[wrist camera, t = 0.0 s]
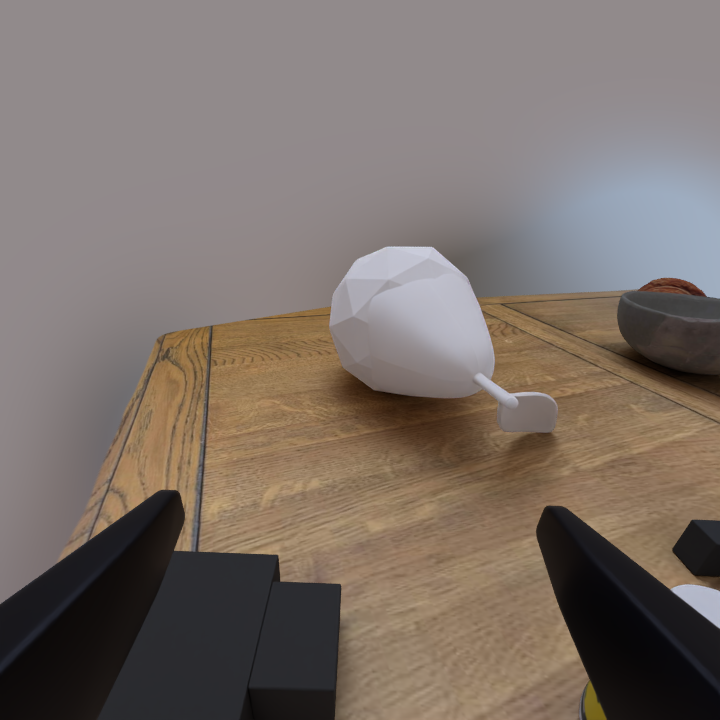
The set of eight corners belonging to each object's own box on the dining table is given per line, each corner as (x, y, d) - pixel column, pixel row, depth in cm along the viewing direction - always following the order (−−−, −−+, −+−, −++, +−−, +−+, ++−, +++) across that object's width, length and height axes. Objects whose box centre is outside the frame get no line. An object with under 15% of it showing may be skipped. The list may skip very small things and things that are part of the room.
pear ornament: (363, 205, 40) (559, 229, 17) (469, 305, 52) (672, 401, 29) (286, 316, 43) (363, 471, 20) (404, 387, 55) (540, 538, 31)
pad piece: (331, 773, 14) (332, 742, 12) (89, 767, 13) (64, 734, 12) (341, 590, 20) (342, 556, 19) (177, 584, 20) (167, 550, 18)
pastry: (615, 299, 90) (626, 268, 86) (685, 308, 85) (700, 276, 82) (638, 317, 75) (653, 281, 72) (724, 329, 71) (745, 291, 67)
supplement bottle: (602, 657, 17) (676, 549, 14) (727, 774, 14) (869, 670, 10) (555, 732, 15) (630, 623, 11) (693, 896, 11) (865, 815, 8)
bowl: (759, 366, 53) (797, 305, 49) (793, 423, 39) (852, 342, 35) (608, 332, 65) (629, 280, 60) (592, 366, 50) (617, 300, 46)
